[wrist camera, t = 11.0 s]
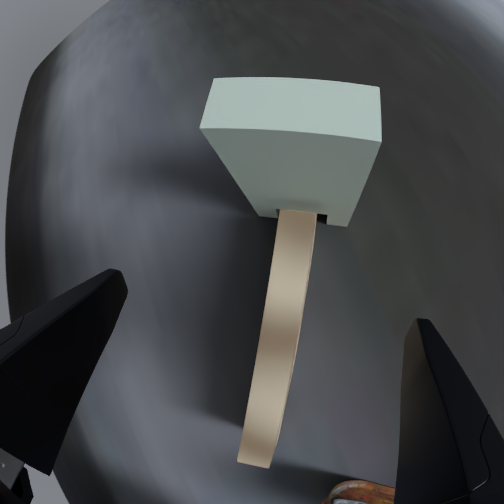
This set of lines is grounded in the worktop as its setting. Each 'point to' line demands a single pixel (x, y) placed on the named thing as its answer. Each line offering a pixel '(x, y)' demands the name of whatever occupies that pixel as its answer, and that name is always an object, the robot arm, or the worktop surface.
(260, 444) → the beige long bar piece
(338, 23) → the worktop surface
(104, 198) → the worktop surface
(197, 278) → the worktop surface
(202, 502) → the worktop surface
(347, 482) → the tin
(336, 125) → the sage block
